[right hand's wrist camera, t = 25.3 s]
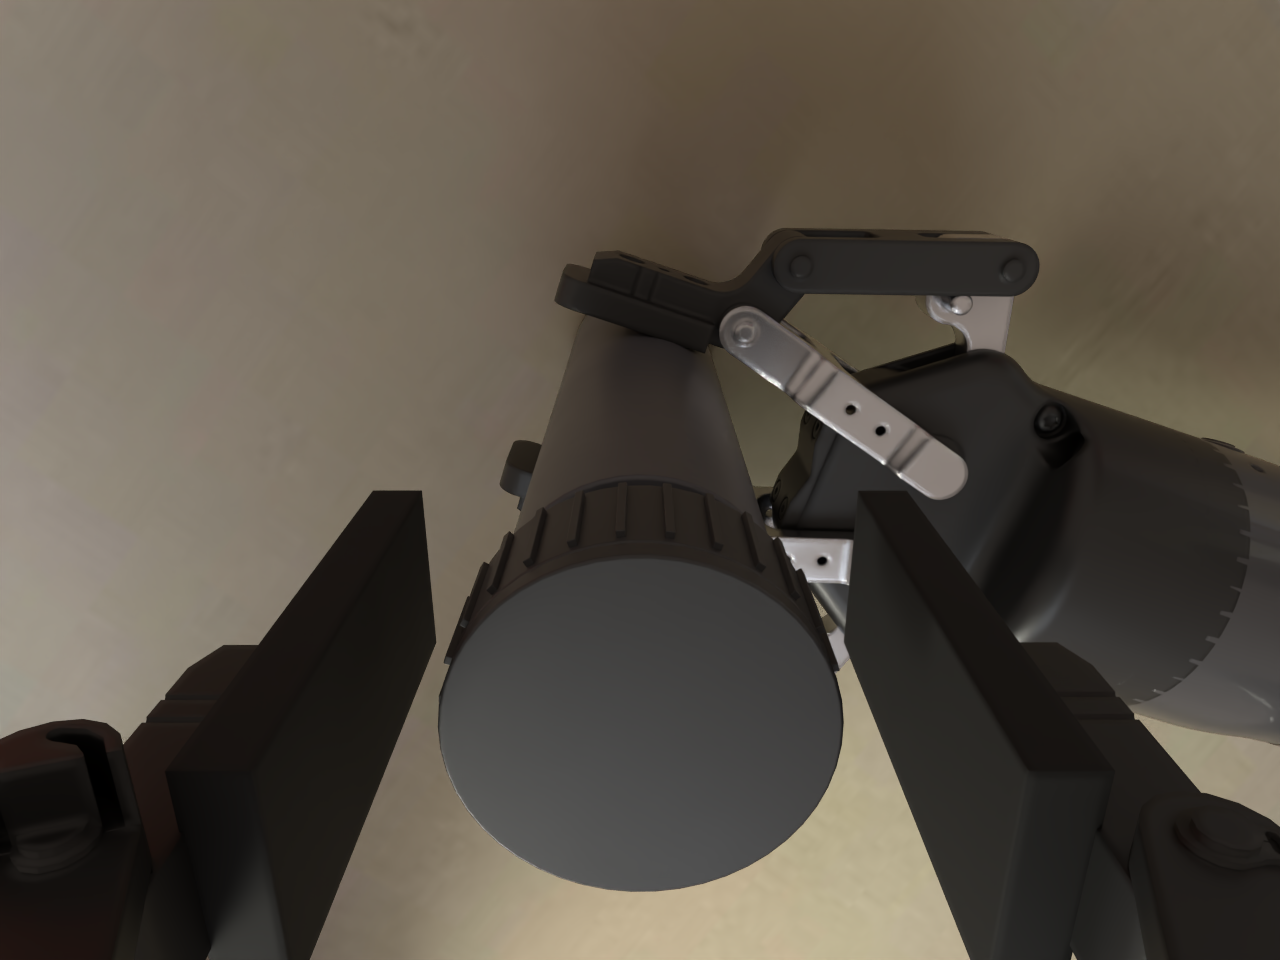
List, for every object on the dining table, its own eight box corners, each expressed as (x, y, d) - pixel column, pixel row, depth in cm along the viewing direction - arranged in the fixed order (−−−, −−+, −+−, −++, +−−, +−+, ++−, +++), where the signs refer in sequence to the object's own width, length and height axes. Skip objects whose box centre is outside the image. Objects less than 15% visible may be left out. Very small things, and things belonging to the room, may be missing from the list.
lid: (839, 754, 13) (874, 863, 11) (515, 810, 13) (494, 926, 11) (789, 444, 11) (820, 509, 9) (418, 518, 12) (374, 596, 10)
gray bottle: (618, 441, 29) (589, 855, 12) (548, 331, 28) (411, 630, 11) (731, 376, 28) (860, 726, 12) (664, 261, 27) (702, 468, 10)
